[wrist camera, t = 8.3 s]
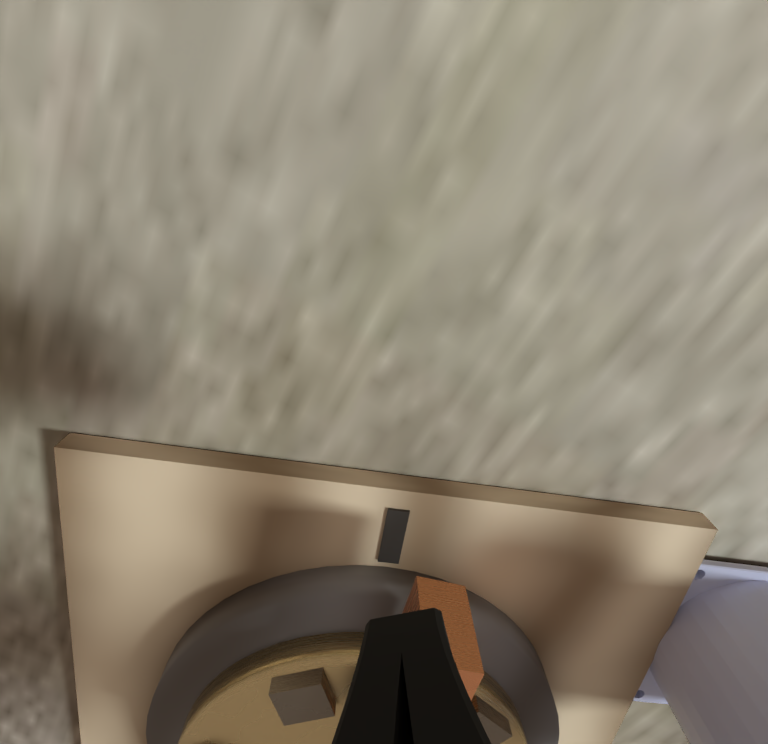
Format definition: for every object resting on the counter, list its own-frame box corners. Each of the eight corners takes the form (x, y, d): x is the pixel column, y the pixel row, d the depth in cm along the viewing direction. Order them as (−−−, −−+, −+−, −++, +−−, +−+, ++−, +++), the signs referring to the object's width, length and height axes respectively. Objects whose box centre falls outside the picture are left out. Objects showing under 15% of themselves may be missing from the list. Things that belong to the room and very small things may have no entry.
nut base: (702, 513, 20) (744, 558, 18) (537, 858, 29) (551, 918, 27) (70, 432, 18) (25, 471, 16) (100, 827, 27) (75, 889, 25)
